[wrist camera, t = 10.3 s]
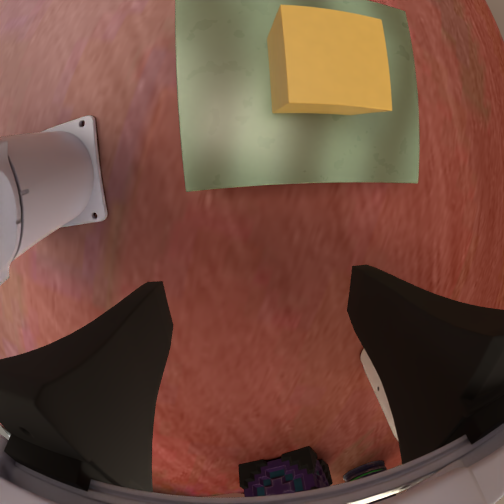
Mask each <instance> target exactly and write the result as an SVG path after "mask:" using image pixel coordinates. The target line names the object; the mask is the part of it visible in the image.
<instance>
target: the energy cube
mask: <svg viewBox="0 0 504 504" xmlns="http://www.w3.org/2000/svg"><path fill="white" fill-rule="evenodd" d="M239 480H240V487H242V488H243V489H244V494H245V497H258V496H271V495H280V494H288V493H296V492H302V491H308V490H314V489H319V488H324V487H329V486H330V485H331V484H332V479H331V475H330V471H329V467H328V464H326V463H325V462H324V461H323V460H322V459H321V460H317V454H316V453H315V452H314V451H313V450H312V449H311V448H310V447H309V446H308V447H305V448H302V449H299V450H295V451H292V452H289V453H285V454H282V457H281V459H277V460H273V461H269V462H266V461H264V460H259V461H254V462H250V463H245V464H240V465H239Z"/></svg>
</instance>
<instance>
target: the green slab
mask: <svg viewBox="0 0 504 504" xmlns="http://www.w3.org/2000/svg"><path fill="white" fill-rule="evenodd" d="M280 5H295V6H307V7H317V8H325V9H332V10H338V11H344V12H350V13H355V14H360V15H364V16H369V17H373V18H377V19H381V20H382V24H383V30H384V36H385V42H386V49H387V56H388V64H389V73H390V84H391V97H392V111H385V112H375V113H366V114H357V115H339V114H317V113H272V101H271V86H270V72H269V58H268V46H267V37H268V35H269V32H270V30H271V27H272V24H273V22H274V19H275V17H276V14H277V12H278V9H279V7H280ZM175 40H176V74H177V94H178V110H179V124H180V137H181V148H182V159H183V169H184V179H185V188H186V192H190V191H199V190H209V189H220V188H232V187H245V186H260V185H277V184H298V183H333V182H387V183H418V174H419V109H418V93H417V82H416V72H415V64H414V57H413V50H412V44H411V38H410V33H409V27H408V23H407V18H406V14H405V11H402V10H399V9H396V8H393V7H390V6H386V5H383V4H379V3H375V2H372V1H368V0H175Z"/></svg>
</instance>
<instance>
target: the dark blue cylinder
mask: <svg viewBox="0 0 504 504" xmlns="http://www.w3.org/2000/svg"><path fill="white" fill-rule="evenodd" d="M383 471H386V467H385V466H384V461H374V462H370V463H367V464H364V465H362V466H359V467H357V468H355V469H353V470H351V471H349V472H348V473H346V474H345V475H344V476H343V478H344V480H345V483H346V482H350V481H353V480H357V479H361V478H364V477H367V476H371V475H374V474H377V473H380V472H383ZM393 496H396V494H392V495H390V496H387V497H384V498H381V499H378V500H376V501H372V502H369V503H366V504H374V503H377V502H379V501H382V500H385V499H388V498H391V497H393Z"/></svg>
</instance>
